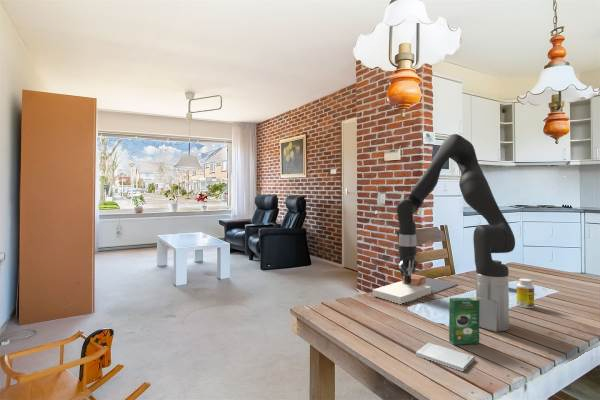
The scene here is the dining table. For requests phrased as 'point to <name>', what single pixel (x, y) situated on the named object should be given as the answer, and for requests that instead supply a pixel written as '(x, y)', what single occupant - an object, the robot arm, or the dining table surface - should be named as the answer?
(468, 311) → the coffee box
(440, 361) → the hard drive
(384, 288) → the block
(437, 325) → the dining table surface
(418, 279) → the terracotta block
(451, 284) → the mat
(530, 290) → the supplement bottle
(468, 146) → the robot arm
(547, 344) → the dining table surface
